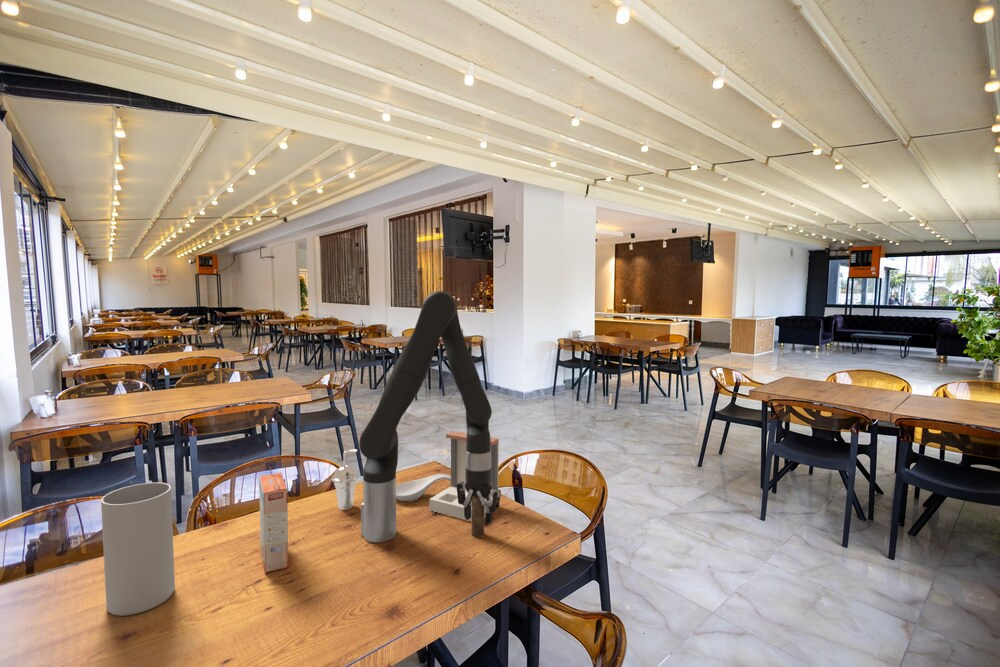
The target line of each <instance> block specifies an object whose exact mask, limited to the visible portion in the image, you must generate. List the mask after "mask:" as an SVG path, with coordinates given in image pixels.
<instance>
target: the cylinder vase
mask: <svg viewBox="0 0 1000 667" xmlns="http://www.w3.org/2000/svg"><path fill="white" fill-rule="evenodd" d="M100 508H101V526H102V527H101V529H102V546H103V548H102V549H103V561H104V562H103V566H104V568H103V569H104V582H105V583H104V585H105V605H106V610H107V611H108V613H109V614H111V615H114V616H122V617H123V616H133V615H136V614H140V613H143V612H147V611H150V610H151V609H154V608H156V607H158V606H160V605H161V604H163V603H164V602H166V601H167V600H168V599H170V597H171V596H172V594H174V592H175V589H176V581H175V578H176V577H175V556H174V555H175V553H174V531H173V530H174V529H173V509H172V508H173V506H172V487H171V484H168V483H165V482H146V483H145V482H144V483H138V484H133V485H129V486H125V487H120V488H118V489H115V490H112V491H111V492H109V493H106V494H105V495H104V496H102V497H101V499H100Z"/></svg>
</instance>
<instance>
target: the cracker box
mask: <svg viewBox="0 0 1000 667" xmlns="http://www.w3.org/2000/svg"><path fill="white" fill-rule="evenodd" d="M258 483H259V484H258V486H259V487H258V488H259V489H258V490H259V493H258V494H259V536H260V538H259V539H260V540H259V541H260V543H259V544H260V545H259V546H260V547H259V548H260V549H259V550H260V554H261V555H260V556H261V559H262V560H261V561H262V565H263V570H264V573H265V574H267V573H270V572H274V571H279V570H283V569H288V568H289V522H288V521H289V519H288V518H289V517H288V512H289V511H288V509H289V506H288V504H289V503H288V496H289V495H288V493H289V492H288V488H287V485H286V483H285V480H284V477H283V474H282V473H281V472H278V473H277V472H276V473H271V474H265V475H260V476H258Z"/></svg>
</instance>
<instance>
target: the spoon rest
mask: <svg viewBox="0 0 1000 667" xmlns="http://www.w3.org/2000/svg"><path fill="white" fill-rule="evenodd" d="M440 480H446V481H449V482H451V475H449V474H447V473H437V474H433V475H429V476H426V477H422V478H419V479H415V480H409V481H405V482H401V483H398V484H396V500H398V501H402V502H406V501H410V502H415V501H417V500H419V499H418V498H420V497H422V496H423V495H424V494H425V492H426V491H427V490H428V489H429V488H430V487H431V486H432V485H434V483H436V482H438V481H440ZM414 500H415V501H414Z"/></svg>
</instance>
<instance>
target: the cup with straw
mask: <svg viewBox="0 0 1000 667" xmlns="http://www.w3.org/2000/svg"><path fill="white" fill-rule="evenodd" d="M358 452H359V449H348V450H344V451H343V453H342V455H343V465H342V466H339V467H338V468H336V471H335V472H334V474H333V475H332V476H331V481H332V482H333V484H334V487H335V493H336V500H337V505H338V506H337V507H338V509H339V510H342V511H343V510H344V511H346V510H350V509H353V507H354V498H355V497H354V496H355V490H356V488H355V487H356V483H357V480H358V479H359V478H360V477H359V474H358V473H357V472H356V470H355V469H354V468H353V467H352V466H349V465H347V460H346V457H347V456H346V455H347V453H358Z"/></svg>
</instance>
